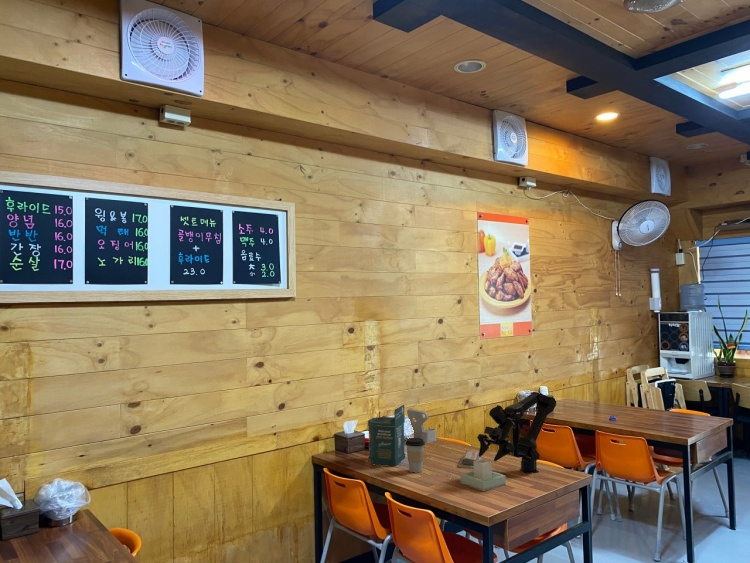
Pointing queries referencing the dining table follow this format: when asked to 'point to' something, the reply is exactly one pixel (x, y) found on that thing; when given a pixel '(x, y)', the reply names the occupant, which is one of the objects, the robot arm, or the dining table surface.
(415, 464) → the coffee cup
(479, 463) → the beige hollow square block
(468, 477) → the green square tray
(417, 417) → the phone holder
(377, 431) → the donation box
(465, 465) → the packaged product
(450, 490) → the dining table surface
